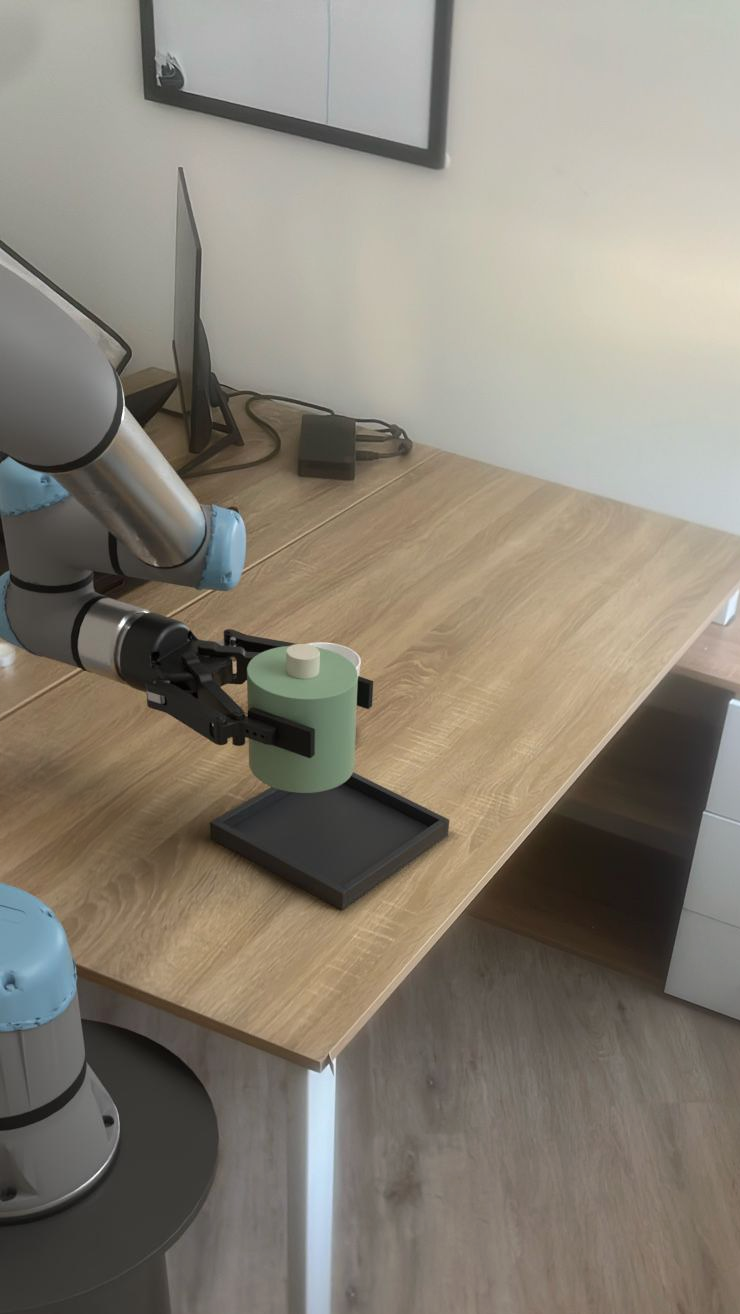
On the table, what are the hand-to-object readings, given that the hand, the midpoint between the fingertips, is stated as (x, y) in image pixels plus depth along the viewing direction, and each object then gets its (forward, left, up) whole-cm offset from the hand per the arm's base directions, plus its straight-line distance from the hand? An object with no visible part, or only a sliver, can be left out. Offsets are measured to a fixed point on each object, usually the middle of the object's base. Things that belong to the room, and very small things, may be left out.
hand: (342, 718), depth 118 cm
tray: (+5, +5, -18) cm, 19 cm away
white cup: (+20, +19, -18) cm, 33 cm away
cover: (-1, +4, -6) cm, 8 cm away
